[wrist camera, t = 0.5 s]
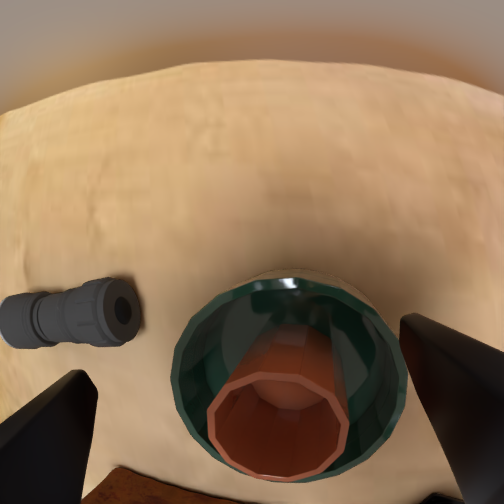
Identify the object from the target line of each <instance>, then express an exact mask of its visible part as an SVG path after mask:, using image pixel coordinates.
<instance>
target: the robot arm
mask: <svg viewBox="0 0 504 504" xmlns="http://www.w3.org/2000/svg"><path fill="white" fill-rule="evenodd" d="M399 345H400V349H401V352H402V354H403V357H404V360H405V362H406V365H407V368H408V370H409V373H410V376H411V379H412V382H413V384H414V387H415V390H416V392H417V395H418V397H419V399H420V402H421V404H422V406H423V408H424V410H425V412H426V414H427V416H428V418H429V420H430V422H431V424H432V427H433V429H434V431H435V433H436V435H437V437H438V440H439V442H440V444H441V446H442V449H443V451H444V453H445V455H446V458H447V460H448V462H449V465H450V467H451V470H452V472H453V474H454V477H455V479H456V482H457V484H458V487H459V489H460V492H461V494H462V497H463V499H464V501H463V500H459V499H456V498H452V497H449V496H445V495H442V494H439V493H433V494H431V495H430V496H429V497H428V498H426V499H425V500H424V501H423V502H422V503H420V504H504V352H502V351H500V350H498V349H495V348H493V347H491V346H489V345H487V344H485V343H482V342H480V341H478V340H476V339H474V338H471V337H469V336H467V335H465V334H462V333H460V332H458V331H456V330H454V329H451V328H449V327H447V326H445V325H442V324H440V323H438V322H436V321H434V320H431V319H429V318H427V317H425V316H422V315H420V314H418V313H411V314H408V315H405V316H403V317H402V318H401V320H400V334H399ZM97 400H98V391H97V388H96V387H95V385H94V384H93V382H92V381H91V379H90V378H89V376H88V374H87V373H86V372H85V371H84V370H81V369H80V370H71V371H70V372H68V373H67V374H66V375H64V376H63V377H62V378H60V379H59V380H58V381H56V382H55V383H54V384H52V385H51V386H50V387H48V388H47V389H46V390H44V391H43V392H42V393H40V394H39V395H38V396H36V397H35V398H34V399H32V400H31V401H30V402H29V403H27V404H26V405H25V406H23V407H22V408H21V409H19V410H18V411H17V412H15V413H14V414H13V415H11V416H10V417H9V418H7V419H6V420H5V421H4V422H2V423H1V424H0V504H81V497H82V491H83V485H84V479H85V474H86V468H87V463H88V458H89V453H90V448H91V443H92V438H93V431H94V423H95V415H96V407H97Z"/></svg>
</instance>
